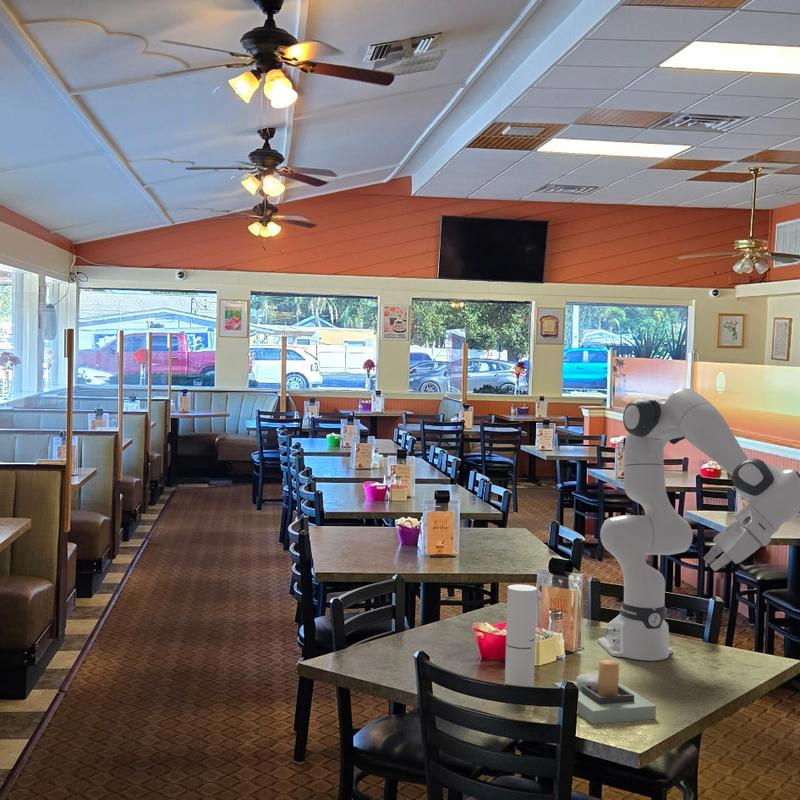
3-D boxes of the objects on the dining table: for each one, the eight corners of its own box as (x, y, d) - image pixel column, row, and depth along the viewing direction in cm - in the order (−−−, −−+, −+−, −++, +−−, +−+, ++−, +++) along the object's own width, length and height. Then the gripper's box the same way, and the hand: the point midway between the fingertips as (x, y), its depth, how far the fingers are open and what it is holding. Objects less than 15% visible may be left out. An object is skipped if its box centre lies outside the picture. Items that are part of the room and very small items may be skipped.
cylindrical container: (539, 687, 245) (542, 587, 244) (522, 694, 240) (526, 592, 239) (515, 681, 250) (518, 583, 249) (498, 687, 245) (501, 587, 244)
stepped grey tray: (553, 695, 240) (554, 674, 240) (612, 690, 244) (613, 670, 244) (592, 724, 221) (593, 702, 221) (655, 718, 225) (656, 697, 225)
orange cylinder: (594, 694, 232) (595, 660, 232) (611, 692, 234) (612, 659, 233) (603, 700, 228) (604, 666, 228) (621, 699, 229) (622, 665, 229)
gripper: (735, 510, 245) (693, 547, 247) (752, 522, 225) (706, 562, 226) (753, 528, 244) (711, 566, 246) (772, 543, 224) (725, 583, 226)
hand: (708, 564), depth 236 cm, fingers open, 8 cm apart
